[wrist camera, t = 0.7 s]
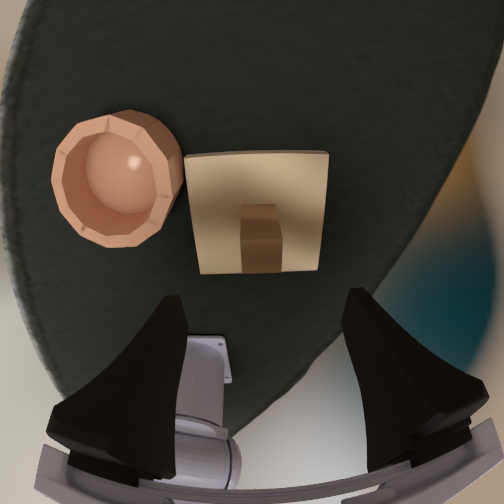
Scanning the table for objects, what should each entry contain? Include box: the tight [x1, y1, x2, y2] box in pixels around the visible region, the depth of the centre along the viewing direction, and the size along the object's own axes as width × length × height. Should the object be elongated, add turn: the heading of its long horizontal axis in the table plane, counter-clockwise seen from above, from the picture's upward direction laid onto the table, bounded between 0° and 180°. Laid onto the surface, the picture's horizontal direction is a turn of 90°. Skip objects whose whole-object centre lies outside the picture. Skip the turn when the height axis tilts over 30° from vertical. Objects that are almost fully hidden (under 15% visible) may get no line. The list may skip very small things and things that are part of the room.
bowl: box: [51, 109, 184, 248], centre depth 15 cm, size 8×8×4 cm
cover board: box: [184, 151, 329, 274], centre depth 17 cm, size 9×9×5 cm
